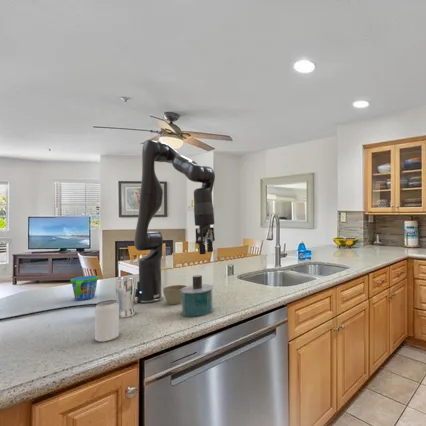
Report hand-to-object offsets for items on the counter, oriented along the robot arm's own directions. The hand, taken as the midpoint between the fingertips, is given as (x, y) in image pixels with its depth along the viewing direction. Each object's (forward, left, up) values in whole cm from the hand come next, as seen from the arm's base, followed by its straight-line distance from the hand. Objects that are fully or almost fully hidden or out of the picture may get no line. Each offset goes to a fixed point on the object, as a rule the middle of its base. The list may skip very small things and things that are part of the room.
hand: (206, 253), depth 120 cm
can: (-28, -18, -25) cm, 42 cm away
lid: (-4, +3, -16) cm, 17 cm away
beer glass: (-32, +5, -25) cm, 41 cm away
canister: (-4, +3, -25) cm, 26 cm away
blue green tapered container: (-63, +35, -25) cm, 77 cm away
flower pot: (-17, +18, -25) cm, 36 cm away
